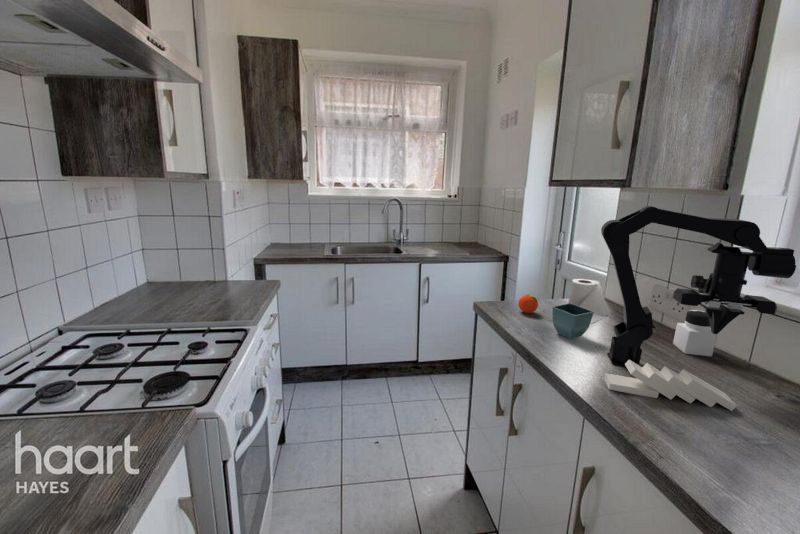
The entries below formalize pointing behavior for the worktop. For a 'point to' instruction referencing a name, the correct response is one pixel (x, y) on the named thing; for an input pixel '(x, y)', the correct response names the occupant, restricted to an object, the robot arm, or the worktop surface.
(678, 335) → the medicine bottle
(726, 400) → the domino
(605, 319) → the worktop surface
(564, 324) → the flower pot
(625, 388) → the domino
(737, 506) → the worktop surface
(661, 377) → the domino
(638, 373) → the domino
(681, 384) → the domino
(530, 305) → the clementine
